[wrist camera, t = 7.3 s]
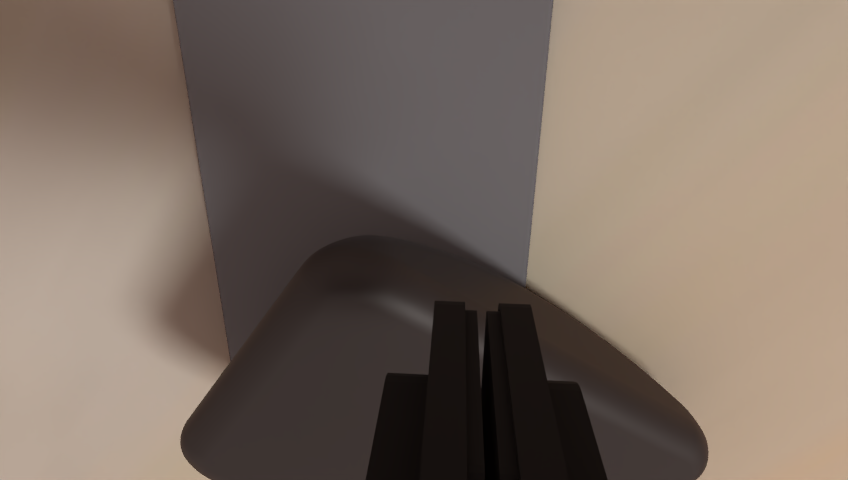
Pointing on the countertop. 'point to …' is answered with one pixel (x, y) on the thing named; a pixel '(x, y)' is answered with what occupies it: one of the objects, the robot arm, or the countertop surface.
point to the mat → (362, 132)
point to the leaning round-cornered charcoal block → (406, 370)
